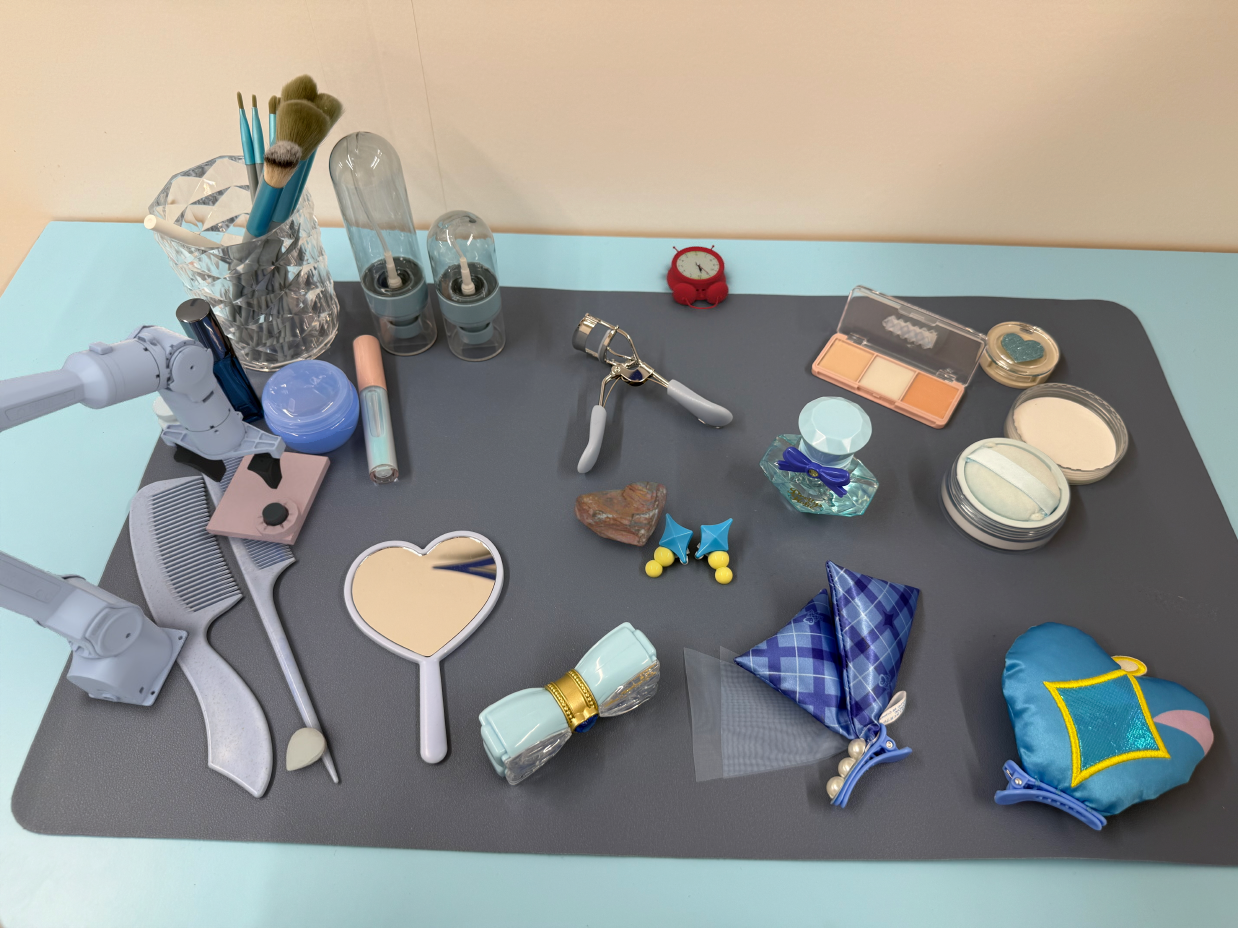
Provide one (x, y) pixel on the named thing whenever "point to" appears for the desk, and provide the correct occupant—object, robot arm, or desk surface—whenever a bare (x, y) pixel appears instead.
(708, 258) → the alarm clock
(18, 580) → the robot arm
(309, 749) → the beige teardrop
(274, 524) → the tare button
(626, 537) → the stone
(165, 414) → the pill bottle
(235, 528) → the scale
